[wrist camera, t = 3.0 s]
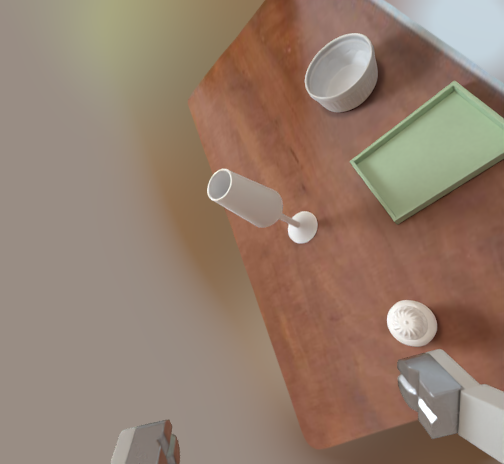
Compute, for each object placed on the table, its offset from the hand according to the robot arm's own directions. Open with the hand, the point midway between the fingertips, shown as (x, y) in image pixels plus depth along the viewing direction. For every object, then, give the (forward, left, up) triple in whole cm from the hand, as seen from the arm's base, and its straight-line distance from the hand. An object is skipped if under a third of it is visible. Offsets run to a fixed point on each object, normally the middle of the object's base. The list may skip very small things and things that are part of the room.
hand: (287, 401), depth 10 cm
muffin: (+3, -2, -41) cm, 41 cm away
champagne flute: (+26, -13, -41) cm, 50 cm away
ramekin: (+24, -43, -41) cm, 64 cm away
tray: (+7, -28, -40) cm, 50 cm away
